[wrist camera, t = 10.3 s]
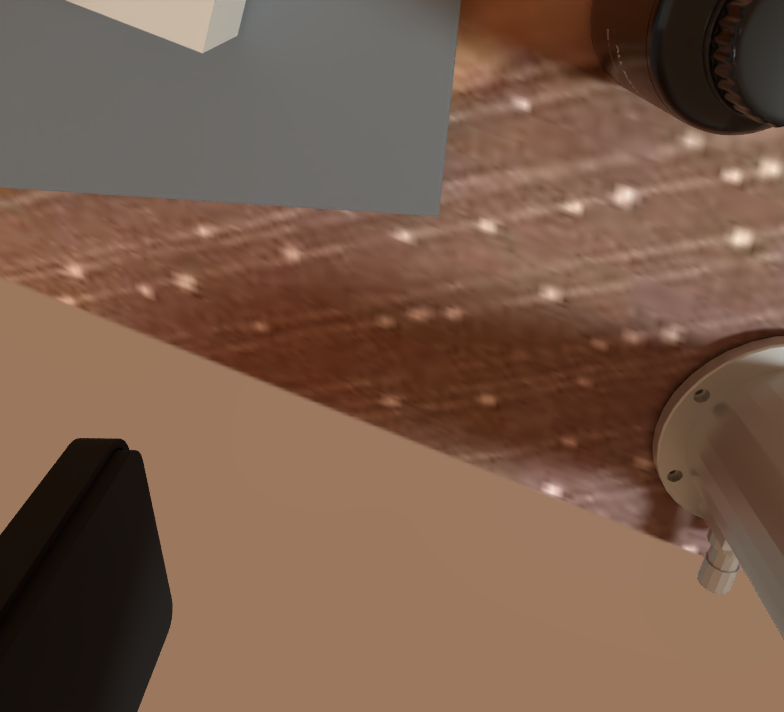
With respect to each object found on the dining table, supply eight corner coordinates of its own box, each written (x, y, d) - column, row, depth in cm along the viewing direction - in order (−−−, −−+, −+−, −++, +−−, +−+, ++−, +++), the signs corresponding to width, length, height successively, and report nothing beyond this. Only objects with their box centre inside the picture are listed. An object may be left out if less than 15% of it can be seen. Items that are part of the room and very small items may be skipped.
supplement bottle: (563, 74, 31) (649, 132, 21) (623, -105, 28) (760, -141, 18) (706, 111, 32) (858, 185, 22) (780, -59, 29) (1001, -68, 18)
